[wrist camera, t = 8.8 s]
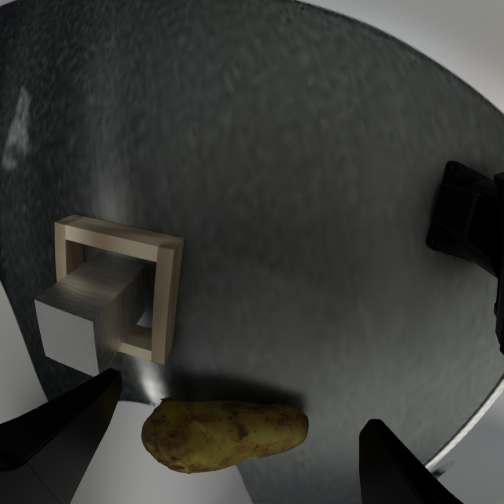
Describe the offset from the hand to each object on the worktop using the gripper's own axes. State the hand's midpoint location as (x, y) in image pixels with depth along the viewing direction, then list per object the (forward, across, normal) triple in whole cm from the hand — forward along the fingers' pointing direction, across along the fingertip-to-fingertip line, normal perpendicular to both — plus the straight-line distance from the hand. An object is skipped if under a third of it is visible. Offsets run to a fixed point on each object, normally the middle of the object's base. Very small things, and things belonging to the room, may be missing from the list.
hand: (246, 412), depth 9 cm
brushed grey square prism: (+12, +10, +3) cm, 16 cm away
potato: (+12, 0, +13) cm, 18 cm away
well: (+12, +10, +3) cm, 16 cm away
